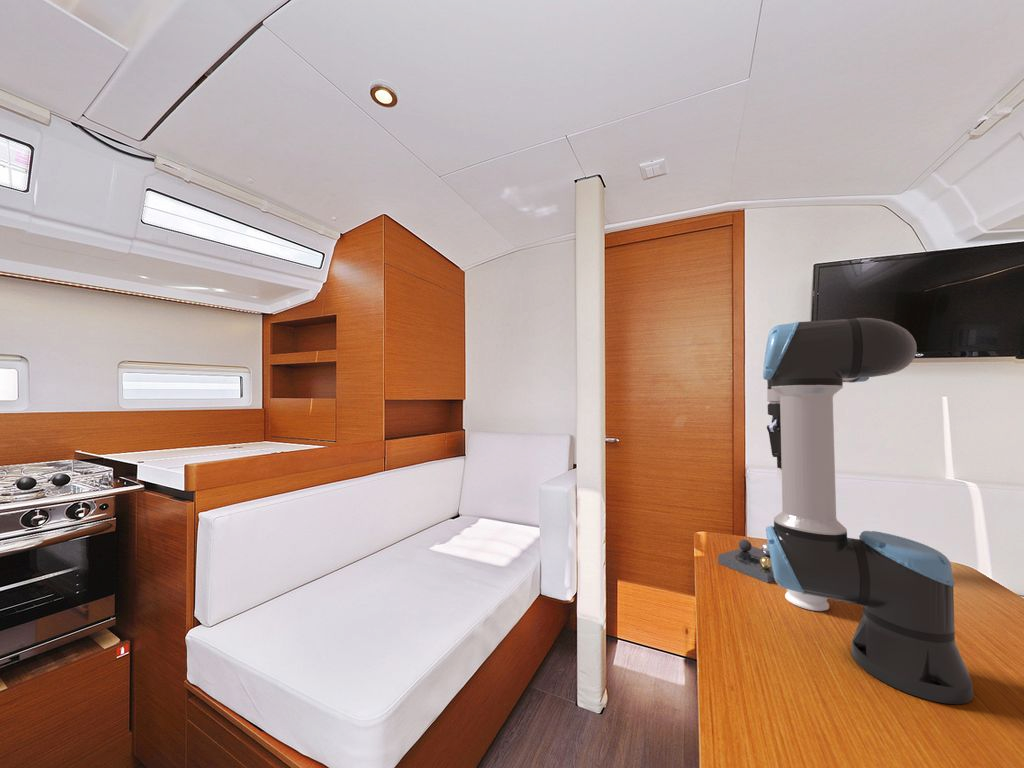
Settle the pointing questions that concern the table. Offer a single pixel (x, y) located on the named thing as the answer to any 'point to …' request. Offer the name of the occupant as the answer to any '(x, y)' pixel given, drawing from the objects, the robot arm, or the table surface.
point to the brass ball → (765, 562)
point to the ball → (765, 549)
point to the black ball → (745, 545)
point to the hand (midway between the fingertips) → (783, 478)
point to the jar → (807, 601)
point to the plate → (747, 563)
